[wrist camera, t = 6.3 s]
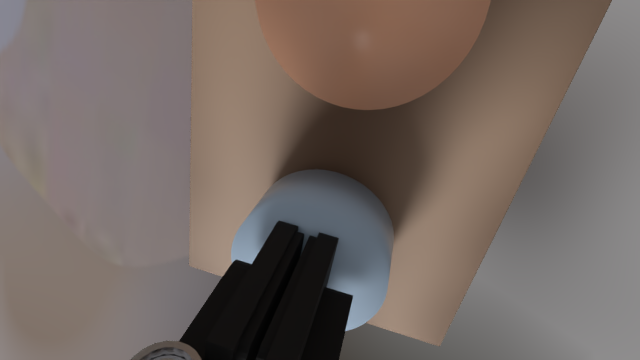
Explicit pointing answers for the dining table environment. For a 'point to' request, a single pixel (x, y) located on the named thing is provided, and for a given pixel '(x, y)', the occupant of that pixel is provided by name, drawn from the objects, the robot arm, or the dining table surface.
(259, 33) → the button panel
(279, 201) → the slate blue button
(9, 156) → the dining table surface
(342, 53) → the terracotta button
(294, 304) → the robot arm
